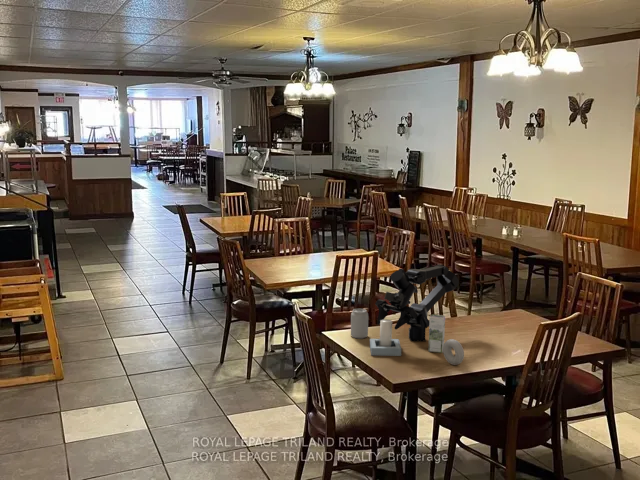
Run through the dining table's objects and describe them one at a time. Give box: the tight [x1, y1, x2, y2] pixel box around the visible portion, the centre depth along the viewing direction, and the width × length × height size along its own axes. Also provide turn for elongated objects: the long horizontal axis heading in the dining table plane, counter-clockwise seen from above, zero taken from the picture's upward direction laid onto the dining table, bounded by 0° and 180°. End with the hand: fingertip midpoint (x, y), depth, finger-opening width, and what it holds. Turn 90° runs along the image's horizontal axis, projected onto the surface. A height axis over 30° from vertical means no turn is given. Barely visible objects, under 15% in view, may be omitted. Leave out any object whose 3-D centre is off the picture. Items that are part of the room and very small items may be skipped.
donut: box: [442, 338, 465, 366], centre depth 243 cm, size 10×4×10 cm, turn 33°
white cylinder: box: [379, 318, 393, 347], centre depth 259 cm, size 5×5×12 cm
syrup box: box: [428, 314, 446, 354], centre depth 259 cm, size 6×6×14 cm
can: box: [350, 308, 369, 340], centre depth 277 cm, size 8×8×12 cm
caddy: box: [369, 338, 402, 357], centre depth 259 cm, size 12×12×3 cm
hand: (386, 326), depth 258 cm, fingers open, 9 cm apart
